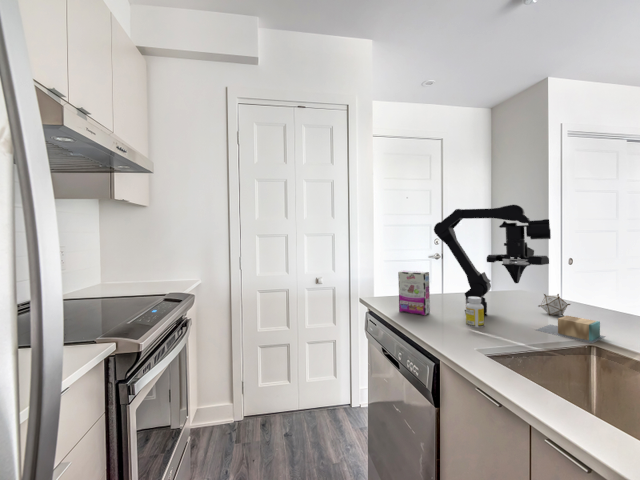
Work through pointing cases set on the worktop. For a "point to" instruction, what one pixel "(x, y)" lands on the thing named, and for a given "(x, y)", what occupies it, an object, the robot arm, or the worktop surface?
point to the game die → (554, 305)
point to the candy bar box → (414, 292)
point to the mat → (554, 330)
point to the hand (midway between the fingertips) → (516, 283)
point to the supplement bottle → (474, 312)
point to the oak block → (579, 327)
